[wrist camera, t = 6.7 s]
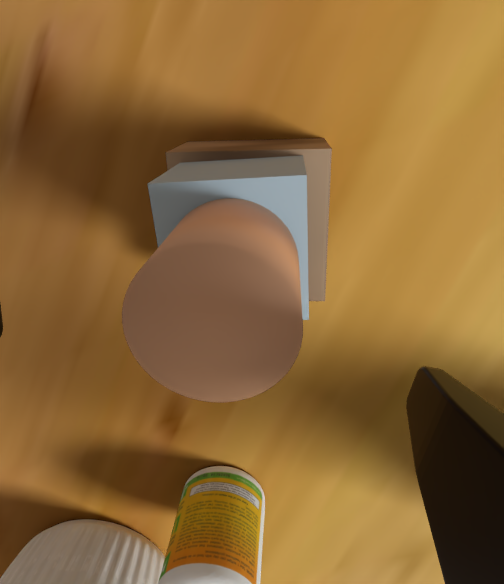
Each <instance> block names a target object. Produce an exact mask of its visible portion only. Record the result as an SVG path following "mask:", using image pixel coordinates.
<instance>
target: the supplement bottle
mask: <svg viewBox="0 0 504 584" xmlns="http://www.w3.org/2000/svg"><path fill="white" fill-rule="evenodd" d="M264 516H265V496H264V492H263V490H262V488H261V486H260V485H259V483H258V482H257V481H256V480H255V479H254V478H253V477H252V476H250V475H249V474H247V473H246V472H244V471H242V470H239V469H237V468H233V467H228V466H213V467H207V468H204V469H202V470H199V471H198V472H196V473H194V474H193V475H192V476H191V477H190V478H189V479H188V480H187V482H186V484H185V486H184V489H183V492H182V496H181V500H180V503H179V507H178V511H177V515H176V519H175V523H174V527H173V530H172V534H171V538H170V542H169V546H168V549H167V553H166V556H165V560H164V564H163V568H162V571H161V575H160V578H159V582H158V584H260V579H261V563H262V547H263V531H264Z"/></svg>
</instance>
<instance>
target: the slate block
mask: <svg viewBox="0 0 504 584" xmlns="http://www.w3.org/2000/svg"><path fill="white" fill-rule="evenodd" d="M148 190H149V196H150V202H151V208H152V214H153V220H154V226H155V232H156V238H157V244H158V247H159V246H160V245H161V244H162V243H163V241H164V240H165V239H166V238H167V237H168V235H169V234H170V233H171V232H172V231H173V229H174V228H175V227H176V226H177V225H178V223H179V222H180V221H181V220H182V219H183V218H184V217H185V216H186V215H187V214H188V213H189V212H190V211H192V210H193V209H195V208H196V207H198V206H200V205H202V204H204V203H206V202H210V201H213V200H217V199H224V198H236V199H244V200H248V201H251V202H254V203H257V204H259V205H261V206H263V207H265V208H267V209H269V210H270V211H271V212H273V213H274V214H275V215H276V216H278V217H279V218H280V219H281V220H282V221H283V223H284V224H285V225H286V226H287V228H288V229H289V231H290V233H291V234H292V236H293V238H294V241H295V243H296V247H297V250H298V257H299V270H300V286H301V302H302V318H303V320H309V291H308V225H307V174H306V169H305V163H304V158H303V155H301V156H285V157H268V158H251V159H234V160H218V161H201V162H184V163H179V164H177V165H176V166H174V167H173V168H171V169H170V170H168V171H166V172H165V173H163V174H162V175H160V176H159V177H157V178H156V179H154V180H152V181H151V182H149V183H148Z"/></svg>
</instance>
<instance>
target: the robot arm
mask: <svg viewBox="0 0 504 584" xmlns="http://www.w3.org/2000/svg"><path fill="white" fill-rule="evenodd" d="M2 331H3V322H2V313H1V304H0V337H1V335H2ZM406 408H407V415H408V422H409V429H410V436H411V443H412V450H413V457H414V464H415V469H416V475H417V479H418V483H419V487H420V491H421V494H422V498H423V502H424V506H425V510H426V513H427V517H428V521H429V525H430V528H431V532H432V536H433V540H434V543H435V547H436V551H437V555H438V559H439V562H440V566H441V570H442V574H443V577H444V581H445V584H504V414H503V413H502V412H501V411H499V410H498V409H496V408H495V407H494V406H492V405H491V404H489V403H488V402H487V401H485V400H484V399H482V398H481V397H480V396H478V395H477V394H475V393H474V392H473V391H471V390H470V389H468V388H467V387H466V386H464V385H463V384H461V383H460V382H459V381H457V380H456V379H454V378H453V377H452V376H450V375H449V374H447V373H446V372H445V371H443V370H441V369H438V368H432V367H426V366H423V367H421V368H420V369H419V370H418V372H417V374H416V377H415V379H414V382H413V384H412V387H411V390H410V392H409V395H408V398H407V404H406Z"/></svg>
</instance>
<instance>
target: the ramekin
mask: <svg viewBox="0 0 504 584" xmlns="http://www.w3.org/2000/svg"><path fill="white" fill-rule="evenodd" d="M164 560H165V556H164V555H163V553H162V552H161V551H160V550H159V549H158V547H157V546H155V545H154V544H153V543H152V542H151V541H150V540H148V539H147V538H146V537H144V536H143V535H141V534H139V533H137V532H136V531H134V530H132V529H129V528H127V527H124V526H122V525H119V524H115V523H111V522H107V521H101V520H94V519H80V520H72V521H67V522H63V523H60V524H57V525H55V526H53V527H51V528H48V529H46V530H44V531H42V532H41V533H39V534H38V535H36V536H35V537H34V538H33V539H31V541H29V542H28V543H27V544H26V546H25V547H24V548H23V549H22V550H21V551H20V553H19V554H18V555H17V557H16V558H15V559H14V560H13V562H12V563H11V564H10V566H9V567H8V568H7V570H6V571H5V572H4V574H3V575H2V577H1V578H0V584H158V582H159V578H160V575H161V571H162V568H163V564H164Z"/></svg>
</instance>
